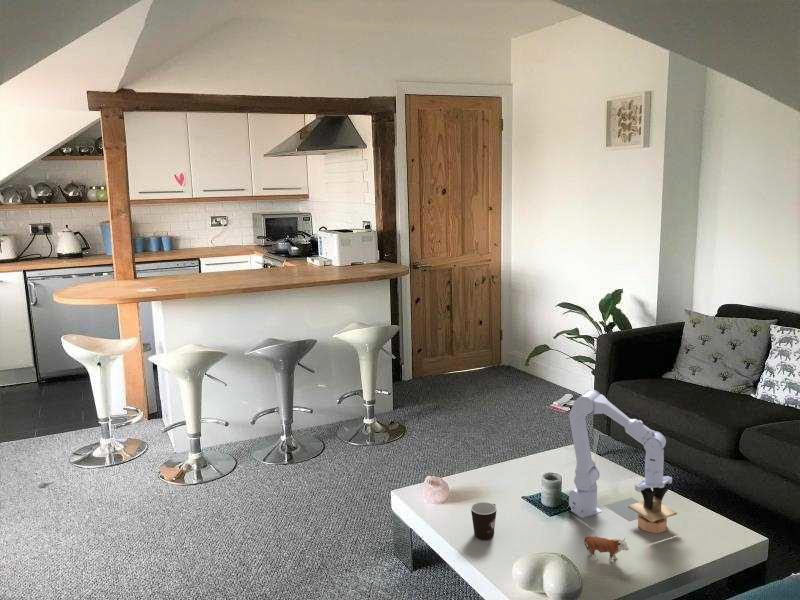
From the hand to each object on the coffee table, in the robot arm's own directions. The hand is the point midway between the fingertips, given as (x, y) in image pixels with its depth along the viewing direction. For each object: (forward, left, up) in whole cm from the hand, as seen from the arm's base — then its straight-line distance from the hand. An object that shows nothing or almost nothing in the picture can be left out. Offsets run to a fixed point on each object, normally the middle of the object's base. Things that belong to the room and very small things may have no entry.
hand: (652, 506), depth 228 cm
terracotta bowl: (0, 0, -8) cm, 8 cm away
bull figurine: (-27, -8, -8) cm, 29 cm away
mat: (+2, +13, -8) cm, 15 cm away
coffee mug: (-52, +22, -8) cm, 57 cm away
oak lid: (0, 0, -2) cm, 2 cm away
